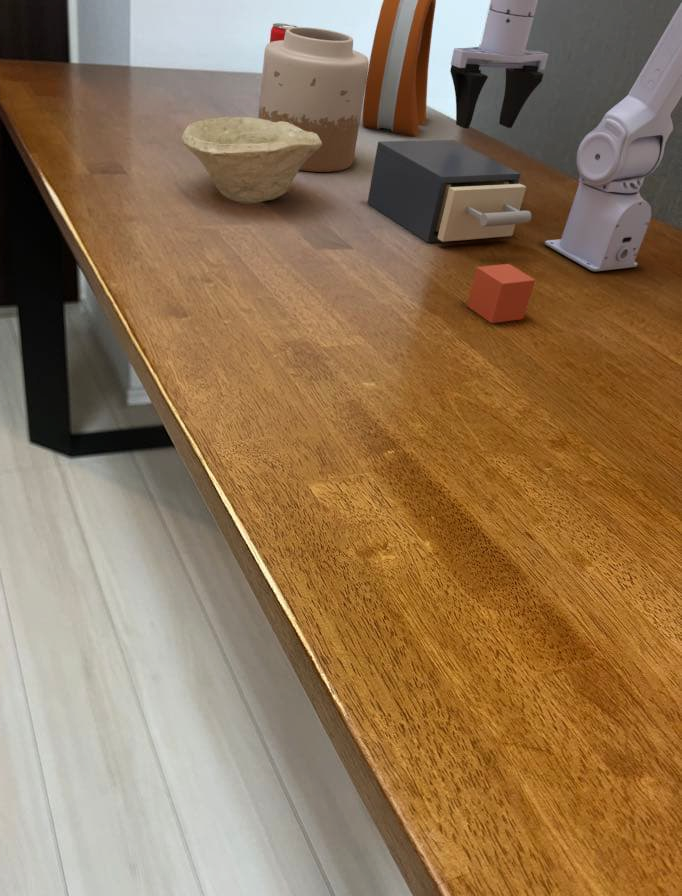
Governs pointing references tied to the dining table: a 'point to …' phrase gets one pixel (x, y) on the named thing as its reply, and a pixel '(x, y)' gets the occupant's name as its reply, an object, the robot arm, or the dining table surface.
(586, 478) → the dining table surface
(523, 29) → the robot arm
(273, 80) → the vase
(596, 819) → the dining table surface
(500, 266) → the block
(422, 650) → the dining table surface
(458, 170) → the cabinet
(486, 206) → the drawer
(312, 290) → the dining table surface
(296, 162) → the bowl
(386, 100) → the orange striped bag
